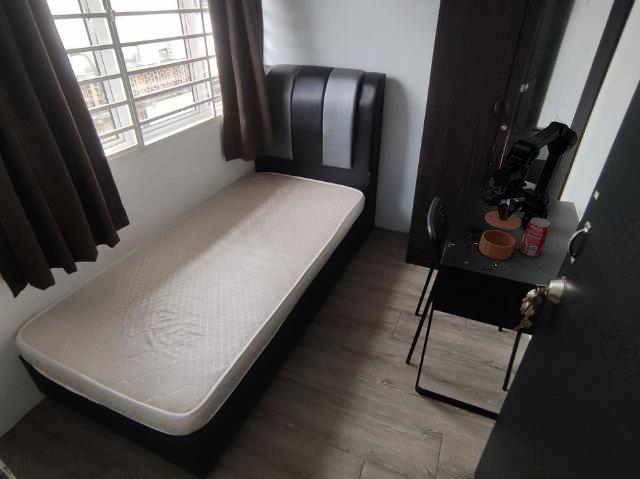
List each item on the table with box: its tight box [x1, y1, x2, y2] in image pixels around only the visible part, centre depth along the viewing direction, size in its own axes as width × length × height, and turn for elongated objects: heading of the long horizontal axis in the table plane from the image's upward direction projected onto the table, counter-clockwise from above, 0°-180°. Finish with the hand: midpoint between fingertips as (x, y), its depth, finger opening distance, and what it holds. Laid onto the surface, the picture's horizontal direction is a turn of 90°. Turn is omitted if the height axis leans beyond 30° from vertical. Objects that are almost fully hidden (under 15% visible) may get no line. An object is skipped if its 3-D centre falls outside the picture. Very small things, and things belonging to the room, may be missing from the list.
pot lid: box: [484, 208, 522, 231], centre depth 136 cm, size 12×12×5 cm
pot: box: [478, 229, 517, 261], centre depth 140 cm, size 11×11×6 cm
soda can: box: [519, 218, 551, 258], centre depth 138 cm, size 7×7×13 cm
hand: (503, 218), depth 136 cm, fingers closed on pot lid, 2 cm apart
